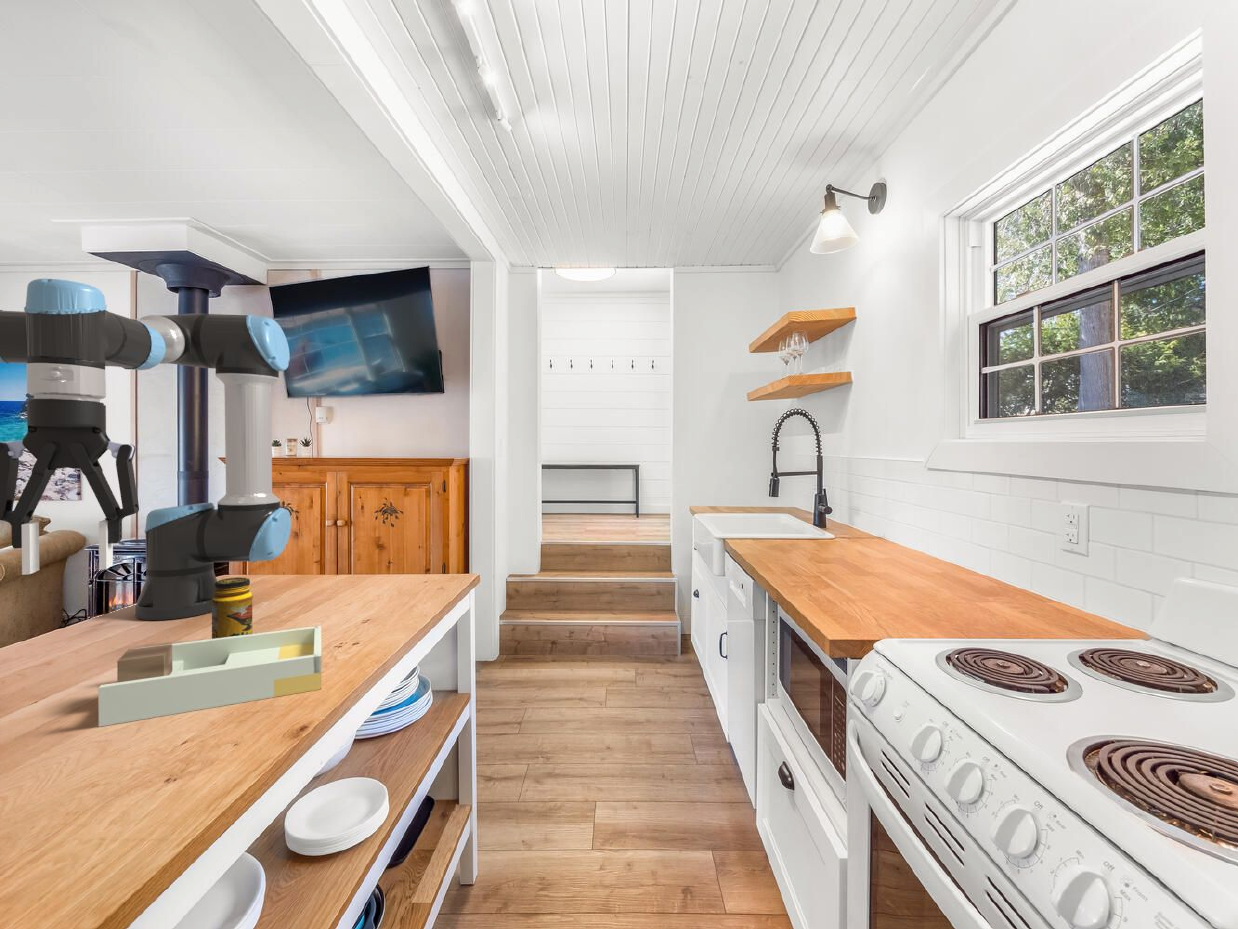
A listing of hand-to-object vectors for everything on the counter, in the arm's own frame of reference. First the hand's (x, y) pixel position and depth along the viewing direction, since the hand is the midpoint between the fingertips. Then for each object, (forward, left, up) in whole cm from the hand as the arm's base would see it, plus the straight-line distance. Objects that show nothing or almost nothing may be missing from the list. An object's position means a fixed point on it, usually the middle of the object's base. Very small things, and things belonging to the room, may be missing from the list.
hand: (69, 569), depth 75 cm
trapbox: (0, +18, -19) cm, 26 cm away
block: (0, +8, -17) cm, 18 cm away
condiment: (-20, +15, -19) cm, 32 cm away
